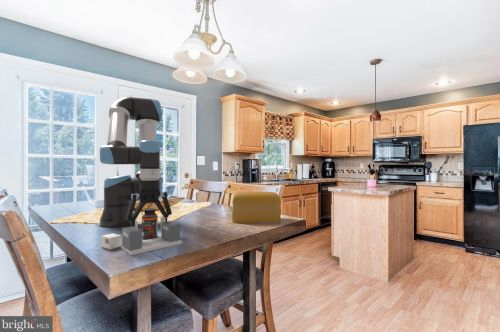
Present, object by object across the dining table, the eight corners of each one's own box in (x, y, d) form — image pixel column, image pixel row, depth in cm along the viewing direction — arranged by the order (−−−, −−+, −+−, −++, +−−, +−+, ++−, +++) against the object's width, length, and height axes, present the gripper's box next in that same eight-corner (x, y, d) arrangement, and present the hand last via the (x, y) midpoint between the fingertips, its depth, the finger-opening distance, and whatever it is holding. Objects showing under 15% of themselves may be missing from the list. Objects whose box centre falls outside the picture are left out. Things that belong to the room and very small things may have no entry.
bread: (232, 223, 130) (232, 193, 130) (232, 217, 143) (232, 190, 143) (280, 223, 131) (281, 193, 131) (276, 217, 144) (277, 190, 144)
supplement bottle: (141, 240, 100) (141, 210, 100) (141, 236, 106) (141, 208, 106) (158, 238, 103) (158, 209, 102) (157, 234, 108) (157, 207, 108)
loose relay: (101, 247, 92) (101, 235, 92) (112, 244, 95) (112, 233, 95) (109, 249, 89) (109, 238, 89) (121, 246, 93) (121, 235, 93)
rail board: (120, 247, 91) (120, 227, 91) (169, 237, 103) (169, 220, 103) (130, 255, 84) (130, 233, 84) (182, 243, 96) (182, 224, 96)
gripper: (122, 181, 93) (121, 243, 93) (180, 179, 109) (180, 232, 109) (115, 180, 99) (115, 238, 99) (172, 178, 114) (172, 228, 115)
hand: (149, 235), depth 104 cm, fingers open, 10 cm apart
